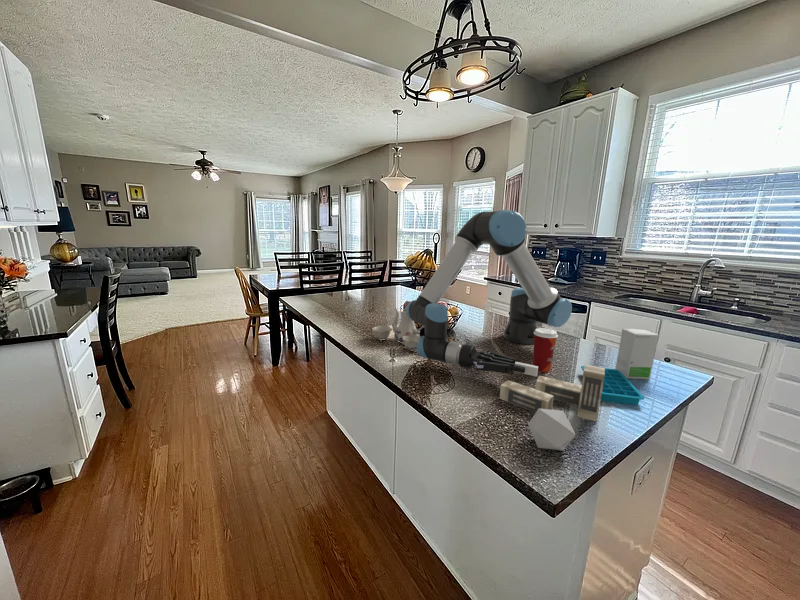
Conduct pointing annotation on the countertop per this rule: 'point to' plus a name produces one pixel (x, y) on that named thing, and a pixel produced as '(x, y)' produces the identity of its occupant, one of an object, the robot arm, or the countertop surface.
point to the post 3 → (591, 392)
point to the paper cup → (544, 348)
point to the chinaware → (401, 330)
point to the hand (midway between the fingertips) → (537, 371)
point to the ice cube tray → (618, 388)
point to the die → (551, 429)
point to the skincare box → (636, 353)
